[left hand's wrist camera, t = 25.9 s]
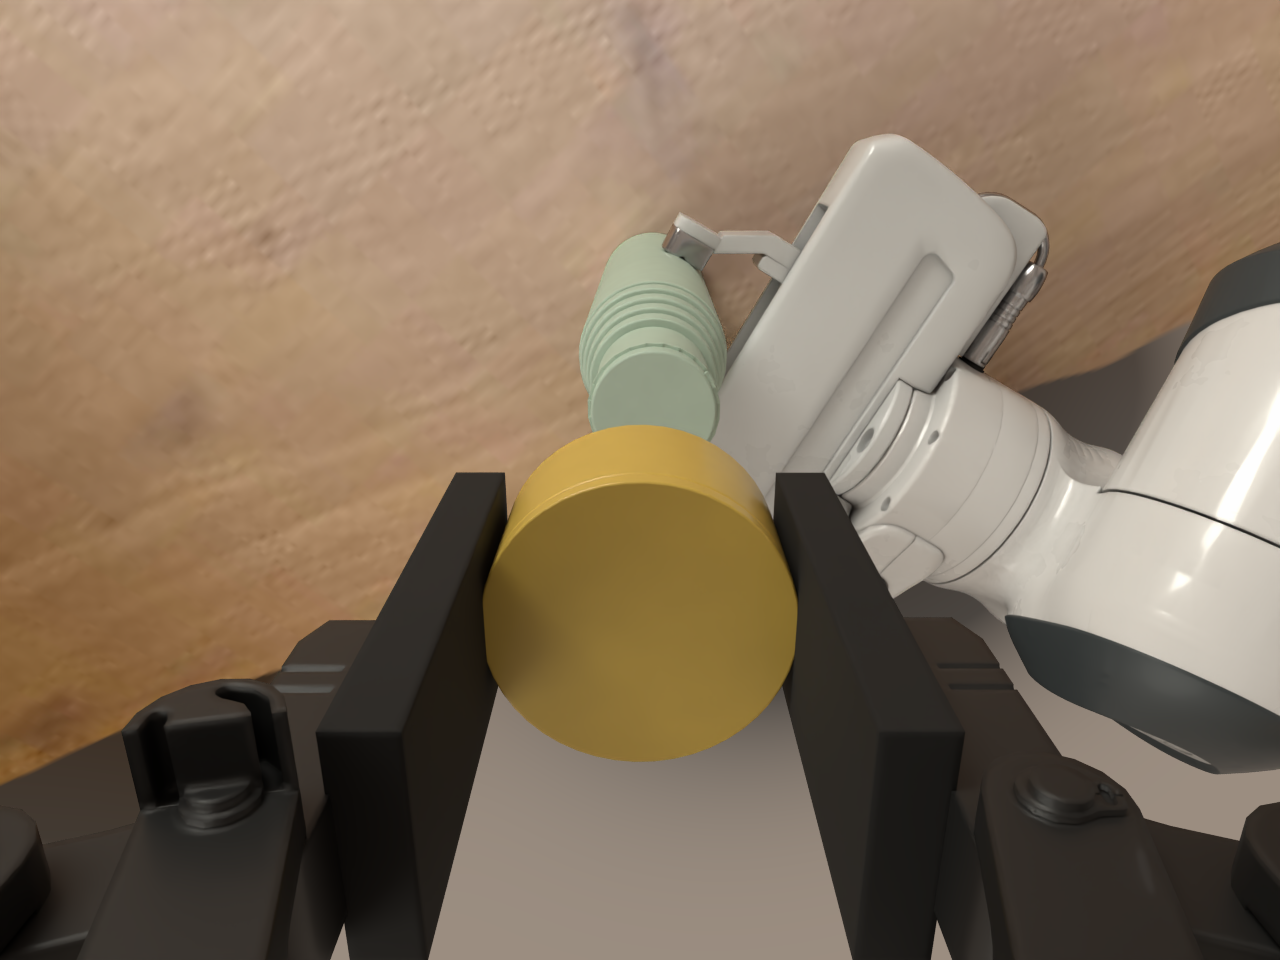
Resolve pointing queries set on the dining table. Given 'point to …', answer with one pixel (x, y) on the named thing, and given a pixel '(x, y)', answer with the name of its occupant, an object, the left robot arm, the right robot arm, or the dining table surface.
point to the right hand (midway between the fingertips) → (632, 297)
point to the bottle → (653, 343)
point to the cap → (640, 597)
